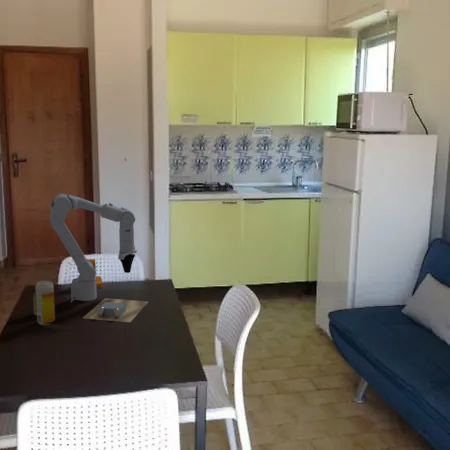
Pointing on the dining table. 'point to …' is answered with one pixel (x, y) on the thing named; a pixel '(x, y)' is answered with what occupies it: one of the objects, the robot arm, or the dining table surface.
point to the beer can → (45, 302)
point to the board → (128, 316)
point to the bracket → (98, 278)
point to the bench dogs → (116, 312)
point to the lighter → (35, 303)
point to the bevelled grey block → (110, 308)
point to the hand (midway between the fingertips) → (127, 272)
